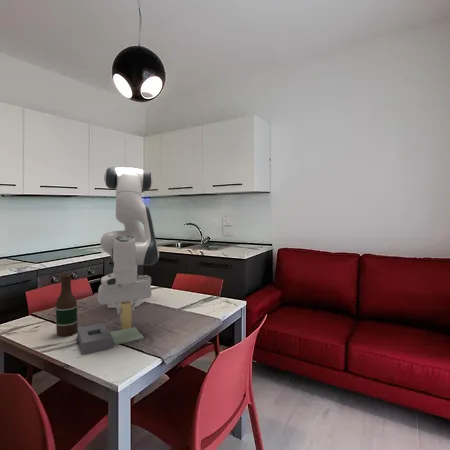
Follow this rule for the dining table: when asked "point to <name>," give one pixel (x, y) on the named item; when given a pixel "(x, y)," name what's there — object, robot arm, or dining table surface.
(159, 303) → the dining table surface
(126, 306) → the brass peg
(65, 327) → the beer bottle
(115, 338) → the green mat
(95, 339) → the grey slotted block
